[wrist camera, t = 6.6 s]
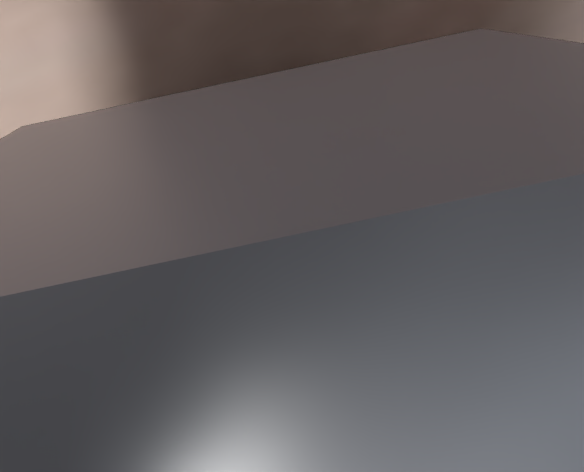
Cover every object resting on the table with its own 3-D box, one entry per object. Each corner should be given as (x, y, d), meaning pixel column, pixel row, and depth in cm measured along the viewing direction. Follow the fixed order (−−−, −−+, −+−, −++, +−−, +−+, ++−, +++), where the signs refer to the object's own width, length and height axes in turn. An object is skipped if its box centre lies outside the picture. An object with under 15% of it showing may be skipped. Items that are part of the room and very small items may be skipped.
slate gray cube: (480, 28, 12) (950, 96, 4) (500, 396, 16) (753, 792, 8) (21, 126, 12) (-415, 383, 4) (157, 467, 16) (70, 930, 8)
